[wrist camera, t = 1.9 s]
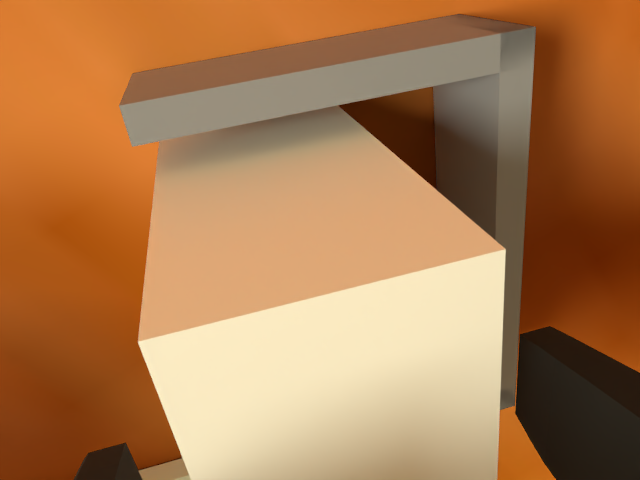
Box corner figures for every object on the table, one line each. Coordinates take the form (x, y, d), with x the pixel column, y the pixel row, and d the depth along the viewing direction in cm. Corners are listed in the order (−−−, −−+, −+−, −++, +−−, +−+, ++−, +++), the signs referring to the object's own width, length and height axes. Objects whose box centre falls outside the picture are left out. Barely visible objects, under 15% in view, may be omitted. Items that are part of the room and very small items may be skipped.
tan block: (227, 364, 18) (267, 679, 10) (160, 130, 14) (138, 341, 6) (358, 330, 18) (492, 600, 10) (327, 97, 14) (506, 249, 7)
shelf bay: (230, 400, 18) (241, 487, 15) (133, 73, 13) (118, 105, 10) (462, 337, 19) (514, 405, 16) (458, 13, 14) (535, 26, 11)
